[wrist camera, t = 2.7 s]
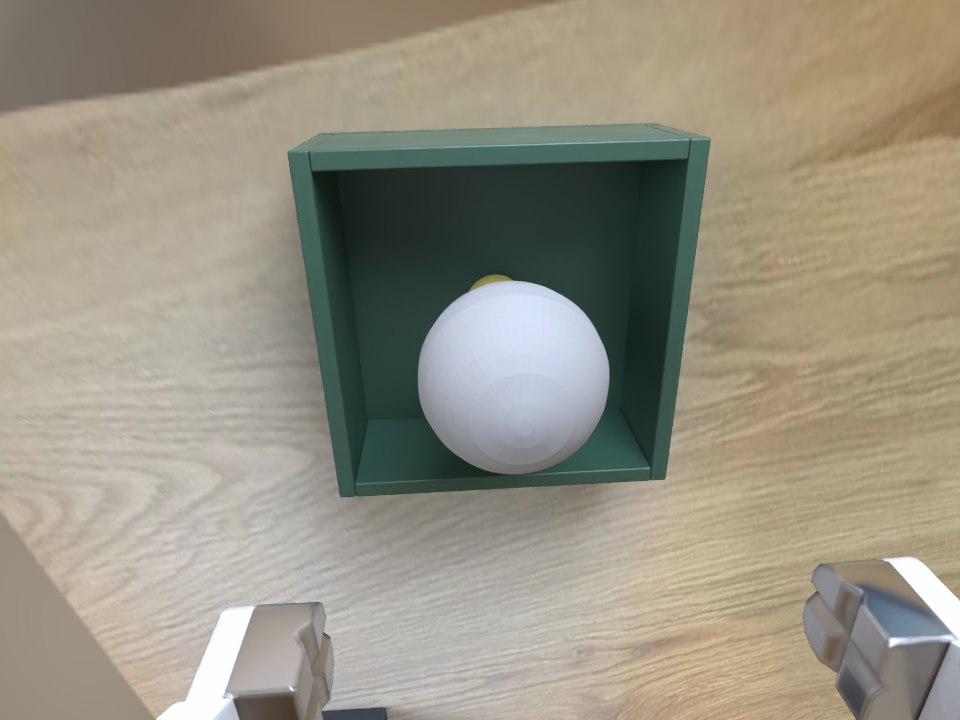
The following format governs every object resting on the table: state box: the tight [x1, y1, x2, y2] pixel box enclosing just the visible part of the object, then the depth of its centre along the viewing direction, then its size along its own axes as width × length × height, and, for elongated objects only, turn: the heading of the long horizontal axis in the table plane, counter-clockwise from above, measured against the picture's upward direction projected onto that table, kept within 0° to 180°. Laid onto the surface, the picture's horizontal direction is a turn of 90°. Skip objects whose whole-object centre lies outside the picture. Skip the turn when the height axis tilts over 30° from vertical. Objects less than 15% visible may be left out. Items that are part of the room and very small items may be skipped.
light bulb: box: [418, 274, 609, 474], centre depth 20 cm, size 6×6×10 cm
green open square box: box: [288, 123, 710, 497], centre depth 22 cm, size 12×12×5 cm
